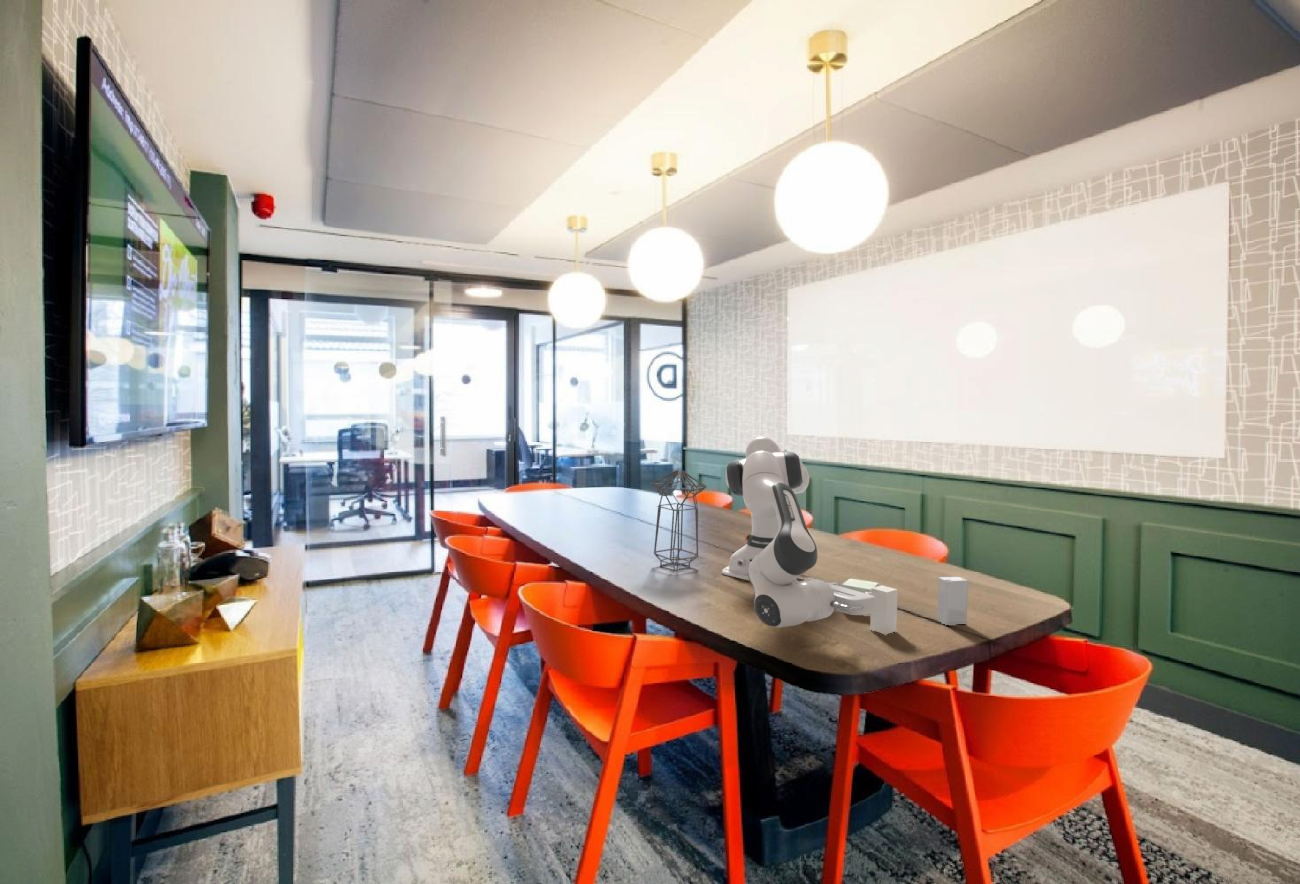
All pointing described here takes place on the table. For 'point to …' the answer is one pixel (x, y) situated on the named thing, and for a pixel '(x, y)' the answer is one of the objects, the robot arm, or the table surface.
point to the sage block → (859, 585)
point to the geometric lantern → (677, 514)
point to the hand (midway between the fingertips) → (854, 590)
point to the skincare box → (952, 600)
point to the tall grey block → (884, 610)
